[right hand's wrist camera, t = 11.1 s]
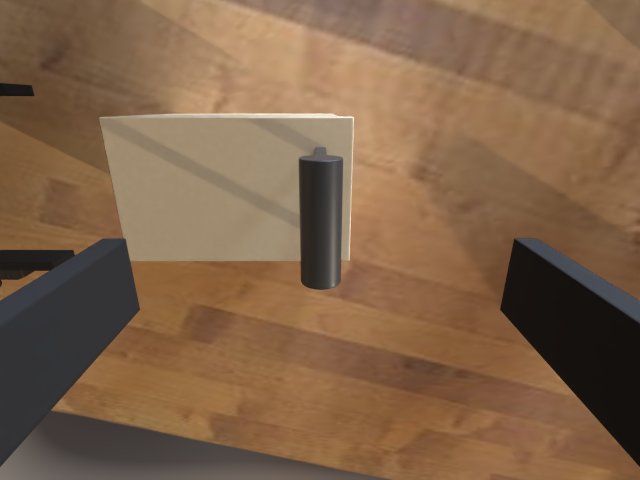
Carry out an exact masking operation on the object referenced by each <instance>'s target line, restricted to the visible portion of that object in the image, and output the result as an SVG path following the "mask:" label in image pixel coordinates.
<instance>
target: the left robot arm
mask: <svg viewBox="0 0 640 480" xmlns="http://www.w3.org/2000/svg"><path fill="white" fill-rule="evenodd" d="M0 96H34V93H33V89H32V85H18V84H5V83H0ZM74 256H75V255H74V251H73V250H0V286H1V285H2V281H1V280H6V279H7V280H11V279H12V280H18V279H21V278H23V277H25V276H27V275H28V274H30V273H32V272H34V271H50V270H52V269H54V268H55V267H57V266H59V265H60V264H62V263H64V262H65V261H67V260H69V259H70V258H72V257H74Z"/></svg>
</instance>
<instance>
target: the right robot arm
mask: <svg viewBox="0 0 640 480" xmlns="http://www.w3.org/2000/svg"><path fill="white" fill-rule="evenodd" d="M139 310H140V308H139V303H138V298H137V293H136V288H135V283H134V278H133V273H132V268H131V263H130V258H129V253H128V248H127V243H126V239H102V240H100V241H98V242H97V243H95V244H93V245H92V246H90V247H88V248H87V249H85V250H83V251H82V252H80V253H79V254H77V255H75V256H74V257H72V258H70V259H69V260H67V261H65V262H64V263H62V264H60V265H59V266H57V267H55V268H54V269H52V270H50V271H49V272H47V273H46V274H44V275H42V276H41V277H39V278H37V279H36V280H34V281H32V282H31V283H29V284H27V285H26V286H24V287H22V288H21V289H19V290H17V291H16V292H14V293H13V294H11V295H9V296H8V297H6V298H4V299H3V300H1V301H0V466H1V465H2V464H3V463H4V462H5V461H6V460H7V459H8V457H9V456H10V455H11V454H12V453H13V452H14V451H15V450H16V448H17V447H18V446H19V445H20V444H21V443H22V442H23V441H24V439H25V438H26V437H27V436H28V435H29V434H30V433H31V432H32V430H33V429H34V428H35V427H36V426H37V425H38V424H39V423H40V421H41V420H42V419H43V418H44V417H45V416H46V415H47V414H48V413H49V411H50V410H51V409H52V408H53V407H54V406H55V405H56V404H57V402H58V401H59V400H60V399H61V398H62V397H63V396H64V395H65V393H66V392H67V391H68V390H69V389H70V388H71V387H72V386H73V384H74V383H75V382H76V381H77V380H78V379H79V378H80V377H81V375H82V374H83V373H84V372H85V371H86V370H87V369H88V368H89V366H90V365H91V364H92V363H93V362H94V361H95V360H96V359H97V357H98V356H99V355H100V354H101V353H102V352H103V351H104V350H105V348H106V347H107V346H108V345H109V344H110V343H111V342H112V341H113V339H114V338H115V337H116V336H117V335H118V334H119V333H120V332H121V330H122V329H123V328H124V327H125V326H126V325H127V324H128V323H129V321H130V320H131V319H132V318H133V317H134V316H135V315H136V314H137V312H138V311H139ZM500 310H501V311H502V312H503V314H504V315H505V316H506V317H507V318H508V319H509V320H510V321H511V323H512V324H513V325H514V326H515V327H516V328H517V329H518V330H519V332H520V333H521V334H522V335H523V336H524V337H525V338H526V339H527V341H528V342H529V343H530V344H531V345H532V346H533V347H534V348H535V350H536V351H537V352H538V353H539V354H540V355H541V356H542V357H543V359H544V360H545V361H546V362H547V363H548V364H549V365H550V366H551V368H552V369H553V370H554V371H555V372H556V373H557V374H558V375H559V377H560V378H561V379H562V380H563V381H564V382H565V383H566V384H567V386H568V387H569V388H570V389H571V390H572V391H573V392H574V393H575V395H576V396H577V397H578V398H579V399H580V400H581V401H582V402H583V404H584V405H585V406H586V407H587V408H588V409H589V410H590V411H591V413H592V414H593V415H594V416H595V417H596V418H597V419H598V420H599V422H600V423H601V424H602V425H603V426H604V427H605V428H606V429H607V431H608V432H609V433H610V434H611V435H612V436H613V437H614V438H615V440H616V441H617V442H618V443H619V444H620V445H621V446H622V447H623V449H624V450H625V451H626V452H627V453H628V454H629V455H630V456H631V458H632V459H633V460H634V461H635V462H636V463H637V464H638V465H639V467H640V301H639V300H637V299H636V298H634V297H632V296H631V295H629V294H627V293H626V292H624V291H623V290H621V289H619V288H618V287H616V286H614V285H613V284H611V283H609V282H608V281H606V280H604V279H603V278H601V277H599V276H598V275H596V274H594V273H593V272H591V271H590V270H588V269H586V268H585V267H583V266H581V265H580V264H578V263H576V262H575V261H573V260H571V259H570V258H568V257H566V256H565V255H563V254H561V253H560V252H558V251H557V250H555V249H553V248H552V247H550V246H548V245H547V244H545V243H543V242H542V241H540V240H538V239H514V243H513V248H512V253H511V258H510V263H509V268H508V273H507V278H506V283H505V288H504V293H503V298H502V303H501V308H500Z"/></svg>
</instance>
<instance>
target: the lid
mask: <svg viewBox="0 0 640 480" xmlns="http://www.w3.org/2000/svg"><path fill="white" fill-rule="evenodd" d="M99 121H100V126H101V131H102V136H103V140H104V145H105V150H106V155H107V160H108V165H109V170H110V175H111V180H112V185H113V190H114V195H115V200H116V205H117V210H118V215H119V220H120V225H121V230H122V235H123V239H126V243H127V248H128V253H129V258H130V261H301V282H302V284H303V285H304V286H306V287H308V288H312V289H318V290H324V289H330V288H333V287H336V286H337V285H339V283H340V281H341V261H349V259H350V227H351V194H352V162H353V130H354V118H353V117H100V118H99Z"/></svg>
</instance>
